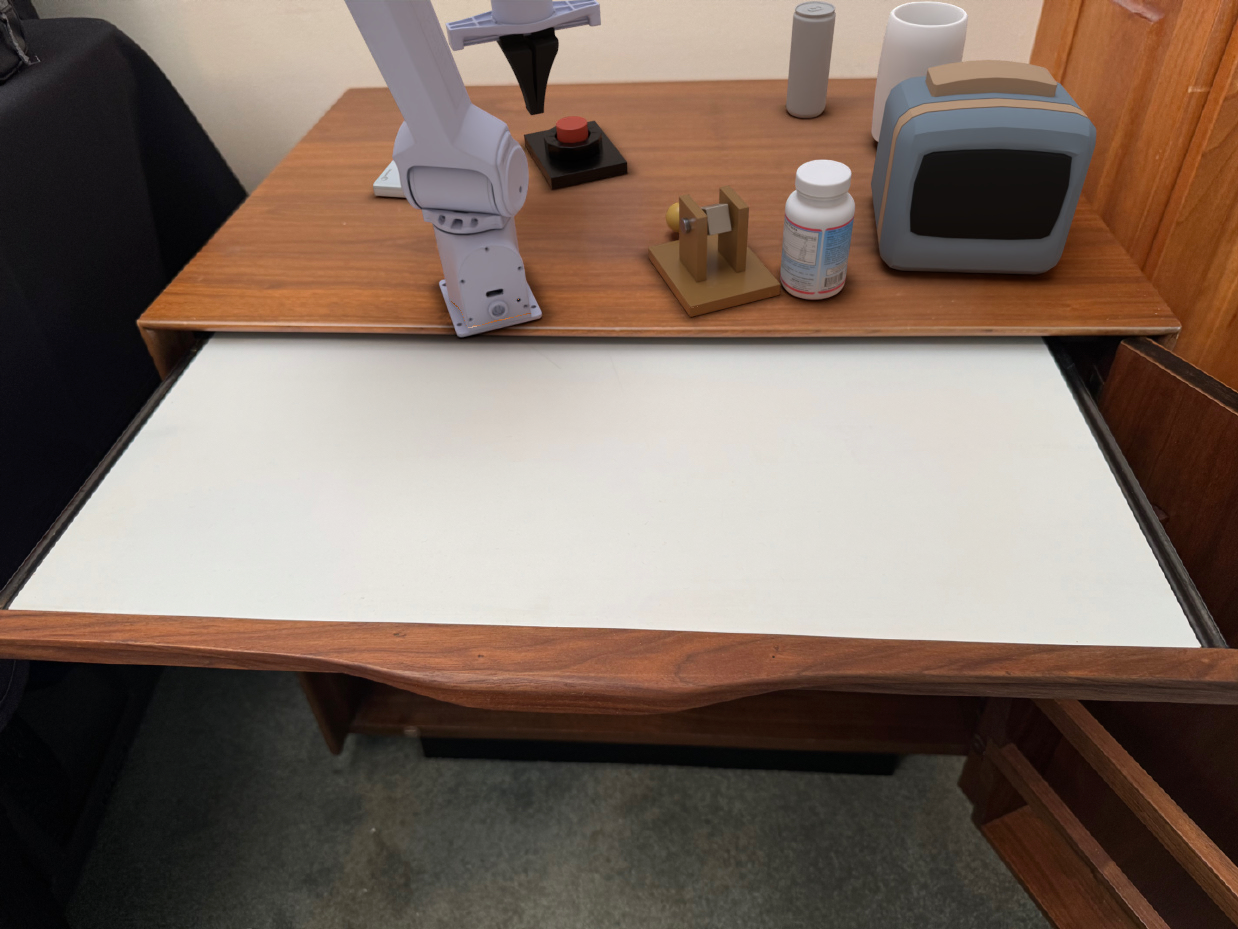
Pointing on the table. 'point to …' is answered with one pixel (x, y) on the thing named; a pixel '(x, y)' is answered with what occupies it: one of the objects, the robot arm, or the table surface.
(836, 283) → the pill bottle
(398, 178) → the hard drive
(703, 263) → the bracket
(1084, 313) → the table surface
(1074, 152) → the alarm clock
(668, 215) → the tap lever
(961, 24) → the cup
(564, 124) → the button
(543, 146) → the button block
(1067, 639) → the table surface
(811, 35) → the beverage can
